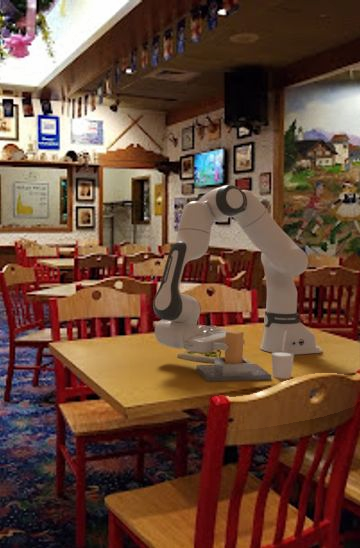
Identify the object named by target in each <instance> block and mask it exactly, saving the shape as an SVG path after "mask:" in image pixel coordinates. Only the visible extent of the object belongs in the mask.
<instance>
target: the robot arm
mask: <svg viewBox="0 0 360 548" xmlns="http://www.w3.org/2000/svg"><path fill="white" fill-rule="evenodd" d="M230 217H231V218H233V219H234V220H235V221H236V222H237V224H238V225H239V227H240V228H241V230H242V231H243V232H244V234H245V235H246V236H247V238H248V239H249V240H250V242H251V243H252V244H253V245H254V246H255V247H256V248H257V249H259V251H260V252H261V254H260V261H261V264H262V266H263V270H264V277H265V285H266V286H265V287H266V305H265V306H266V307H265V308H266V309H265V311H264V317H263V318H264V319H263V320H264V321H263V322H264V324H263V325H264V330H263V336H262V340H261V345H260V348H259V349H260V350H262V351H265V352H269V353H274V352H286V353H291V354H293V355H294V356H295V355H305V354H321V353H322V352H323V351H322V349H323V348H321V347H320V346H319V345H317V342H316V340H317V339H316V336H315V334H314V333H313V331H311V329H309V328H307V327H306V326H305V325H304V324H303V323H302V321H305V320H306V318H307V317H306V315H305V314H303V313H302V314H300V313H299V312H297V309H298V308H297V307H298V305H297V304H298V290H297V287H296V284H295V279H294V277H295V276H298V275H302V274H303V273H304V272H305V271H306V270H307V268H308V265H309V257H308V255H307V253H306V252H305V251H304V250H303V249H301V248H300V247H299V246H298V245H297V243H295V242H294V240H293V239H292V238H291V237H290V236H289V235H288V234H287V233H286V232H285V231H284V230H283V229H282V228H281V227H280V225H278V223H277V222H276V220H275V219H274V218H273V216H272V215H271V214H270V212H269V211H268V210H267V208H266V207H265V205H264V204H263V203H262V202H261V201H260V200H259V198H257V196H255V195H254V194H253V192H251V191H250V190H247V189H241V188H239V187H238V186H236V185H233V184H225V185H222V186H220V187H216V188H214V189H211V190H210V191H208V192H207V193H204V194H202V195H201V196H200V197H198V198H197V200H194V201H190V202H187V204H185V205H184V208H183V210H182V213H181V217H180V220H179V224H178V229H177V234H176V239H175V241H174V243H173V244H172V245H171V247H170V250H169V252H168V255H167V259H166V262H165V266H164V269H163V273H162V277H161V281H160V283H159V284H160V285H159V287H158V289H157V291H156V293H155V295H154V298H153V303H152V306H153V307H152V308H153V311H154V314H155V315H156V317H157V318H159V319H160V320H159V321H158V322H156V324H155V327H154V335H155V338H156V340H157V341H158V342H159V343H160V344H161V345H163V346H165V347H169V348H174V349H178V350H179V349H181V350H182V349H184V350H185V351H193V352H198V353H207V352H211V351H214V350H220V351H225V350H228V349H229V345H228V344H225V339H226V332H228V331H231V330H229V329H224V328H218V326H216V325H203V324H198V321H199V319H200V315H201V312H202V311H201V304H200V302H199V300H198V299H197V298H196V297H194V296H191V295H188V294H187V293H186V294H185V293H183V292H181V291H180V285H181V282H182V279H183V278H182V276H183V274H184V268H185V266H186V264H187V263H189V261H193V260H198V259H200V258H202V257H203V256H204V255H205V254H206V253H207V251H208V249H209V246H210V239H211V232H212V224H214V223H216V222H221V221H226V220H227V219H229V218H230ZM245 342H246V341H245V339H244V338H243V346H244V345H245V344H246V343H245Z"/></svg>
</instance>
